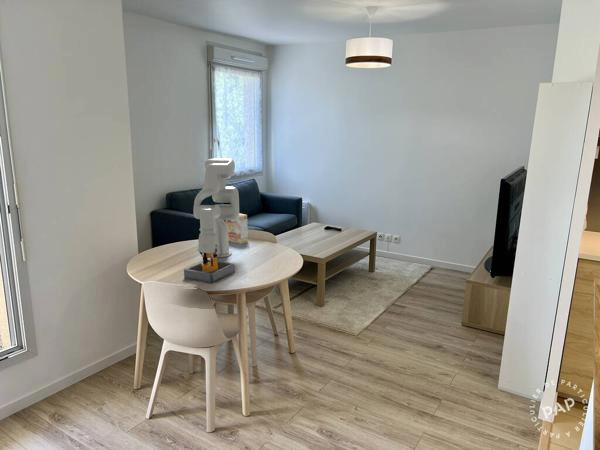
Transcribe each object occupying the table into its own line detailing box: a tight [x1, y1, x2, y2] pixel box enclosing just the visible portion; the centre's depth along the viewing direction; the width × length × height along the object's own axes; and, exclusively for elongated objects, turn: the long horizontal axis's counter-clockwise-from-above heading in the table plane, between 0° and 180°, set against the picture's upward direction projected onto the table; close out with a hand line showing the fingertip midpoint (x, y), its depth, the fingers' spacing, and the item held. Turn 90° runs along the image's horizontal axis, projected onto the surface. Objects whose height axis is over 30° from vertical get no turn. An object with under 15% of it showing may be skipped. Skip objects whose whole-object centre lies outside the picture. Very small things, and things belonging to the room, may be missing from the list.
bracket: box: [201, 250, 218, 272], centre depth 236 cm, size 11×7×12 cm, turn 20°
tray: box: [183, 259, 235, 285], centre depth 237 cm, size 18×20×5 cm
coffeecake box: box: [225, 212, 249, 245], centre depth 306 cm, size 15×7×20 cm, turn 50°
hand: (209, 264), depth 236 cm, fingers closed on bracket, 4 cm apart
